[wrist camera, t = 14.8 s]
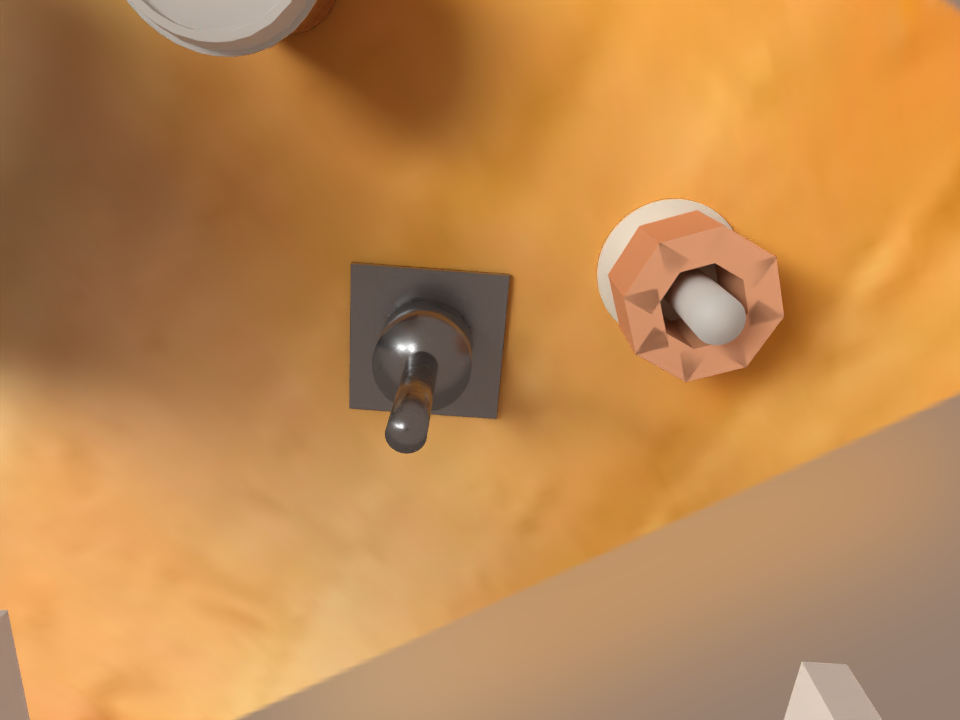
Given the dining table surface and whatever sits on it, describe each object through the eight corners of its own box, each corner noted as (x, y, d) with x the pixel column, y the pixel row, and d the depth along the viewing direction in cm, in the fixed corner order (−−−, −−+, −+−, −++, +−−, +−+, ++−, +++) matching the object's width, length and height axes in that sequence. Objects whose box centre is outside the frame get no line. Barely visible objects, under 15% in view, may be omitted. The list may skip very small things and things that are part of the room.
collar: (626, 360, 44) (643, 393, 39) (599, 236, 41) (613, 254, 36) (756, 327, 43) (790, 356, 38) (737, 198, 40) (771, 212, 35)
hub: (587, 332, 46) (616, 396, 36) (607, 192, 43) (643, 222, 33) (723, 342, 46) (788, 409, 36) (752, 204, 43) (832, 237, 33)
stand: (350, 405, 48) (303, 516, 35) (352, 261, 45) (300, 328, 32) (496, 415, 48) (500, 530, 36) (509, 273, 45) (519, 344, 32)
